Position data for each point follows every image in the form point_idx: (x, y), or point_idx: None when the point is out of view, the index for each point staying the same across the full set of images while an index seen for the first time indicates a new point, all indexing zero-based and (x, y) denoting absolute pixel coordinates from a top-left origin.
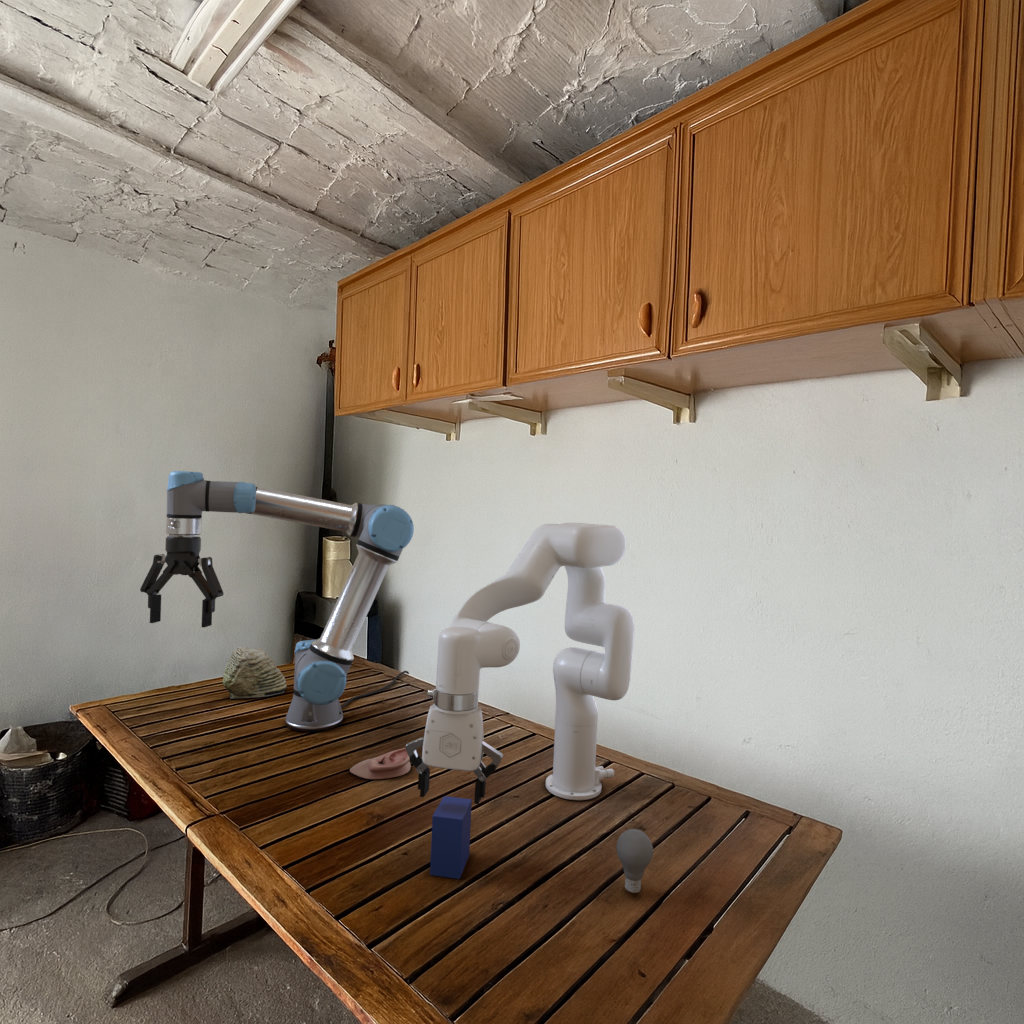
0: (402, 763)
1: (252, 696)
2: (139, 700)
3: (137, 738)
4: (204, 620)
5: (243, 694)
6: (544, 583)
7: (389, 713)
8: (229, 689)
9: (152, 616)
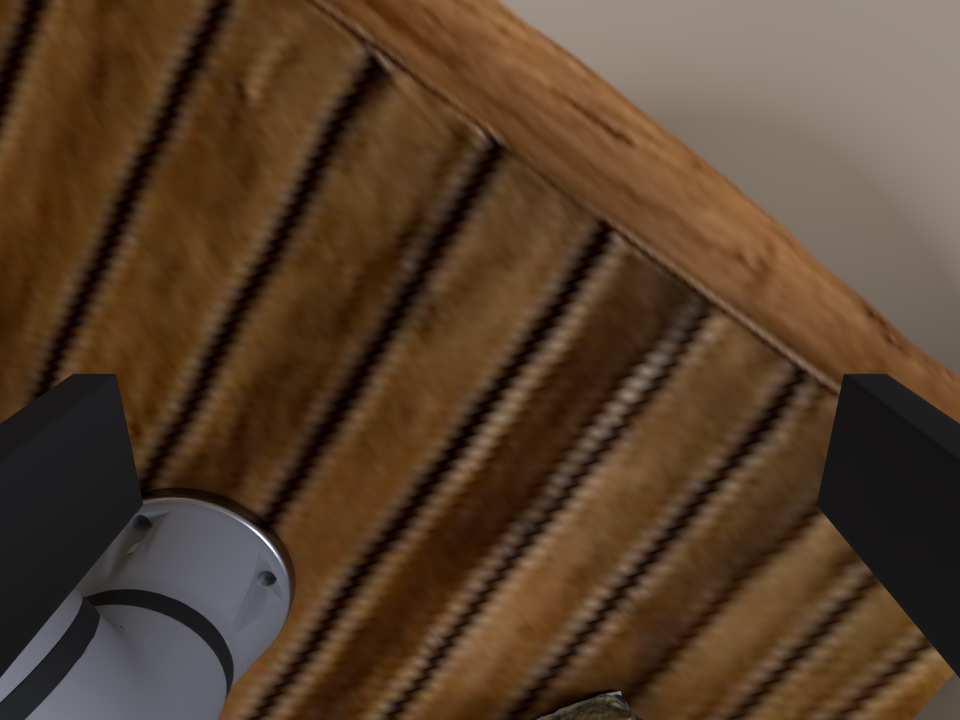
0: None
1: (548, 718)
2: None
3: (715, 291)
4: (17, 415)
5: (574, 712)
6: None
7: None
8: (623, 712)
9: (901, 414)
